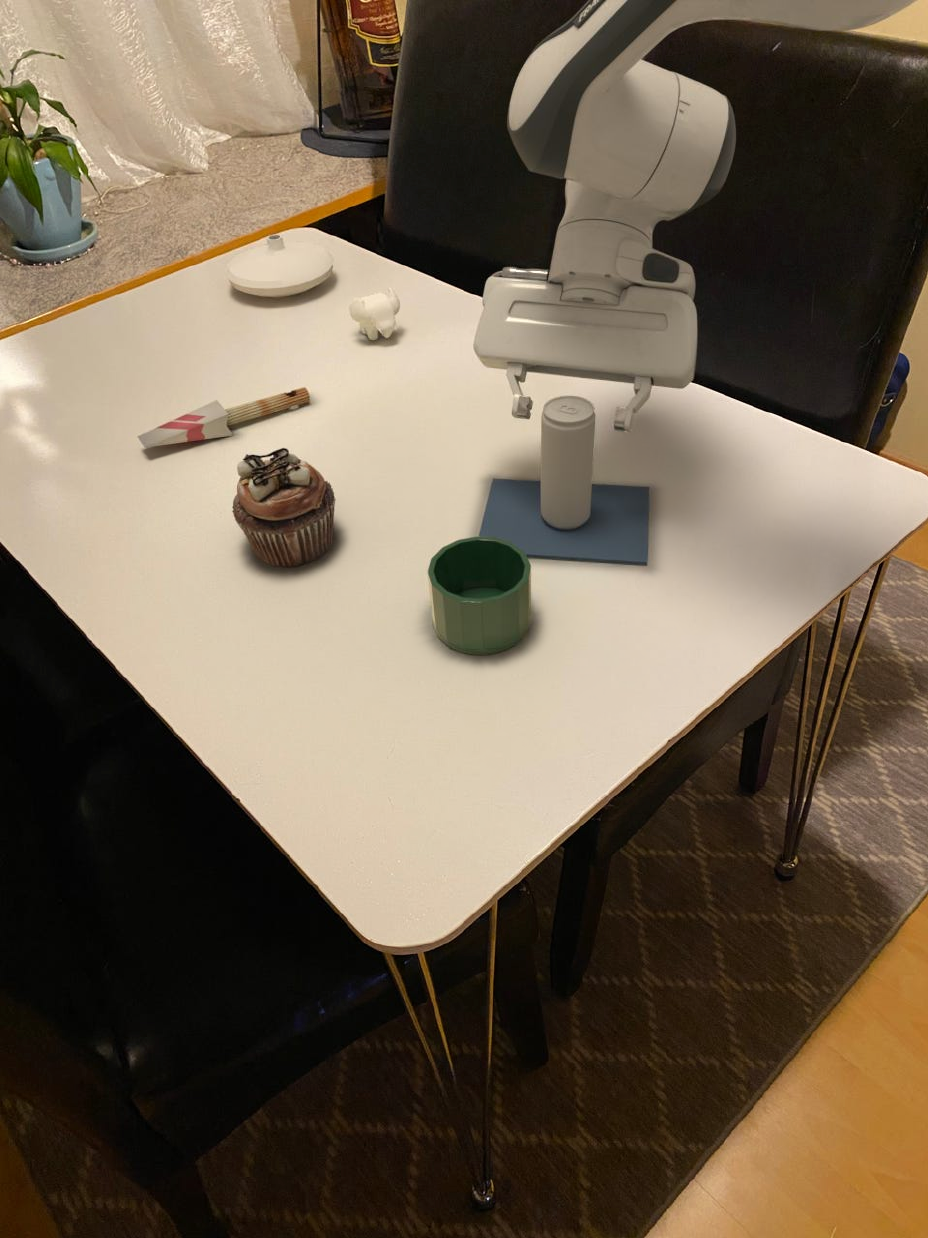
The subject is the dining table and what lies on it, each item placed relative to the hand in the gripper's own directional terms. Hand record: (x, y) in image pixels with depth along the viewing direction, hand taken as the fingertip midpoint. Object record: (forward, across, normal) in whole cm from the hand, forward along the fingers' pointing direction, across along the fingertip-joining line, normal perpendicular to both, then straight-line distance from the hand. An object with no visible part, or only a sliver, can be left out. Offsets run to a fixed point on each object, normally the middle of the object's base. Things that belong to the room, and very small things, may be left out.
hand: (570, 423), depth 82 cm
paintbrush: (+2, -42, +12) cm, 43 cm away
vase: (-24, -53, +39) cm, 70 cm away
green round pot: (+19, -4, -5) cm, 20 cm away
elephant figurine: (-16, -33, +30) cm, 48 cm away
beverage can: (+8, 0, +6) cm, 10 cm away
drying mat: (+8, 0, +6) cm, 10 cm away
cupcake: (+15, -25, 0) cm, 29 cm away
